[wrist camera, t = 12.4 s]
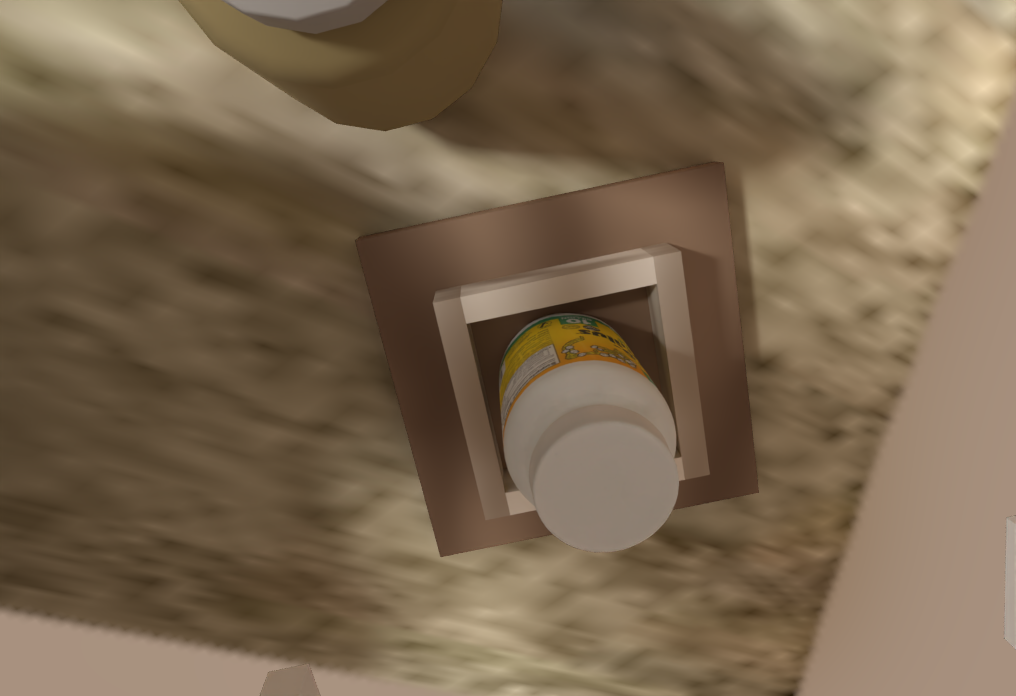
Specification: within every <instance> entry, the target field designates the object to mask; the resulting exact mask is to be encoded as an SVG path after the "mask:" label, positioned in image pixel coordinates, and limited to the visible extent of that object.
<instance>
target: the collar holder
mask: <svg viewBox="0 0 1016 696" xmlns="http://www.w3.org/2000/svg"><path fill="white" fill-rule="evenodd" d="M355 242H356V246H357V249H358V253H359V257H360V261H361V264H362V268H363V272H364V275H365V279H366V283H367V286H368V290H369V294H370V298H371V301H372V305H373V309H374V312H375V316H376V320H377V323H378V327H379V331H380V335H381V338H382V342H383V346H384V349H385V353H386V357H387V360H388V364H389V368H390V372H391V375H392V379H393V383H394V386H395V390H396V394H397V397H398V401H399V405H400V409H401V412H402V416H403V420H404V423H405V427H406V431H407V434H408V438H409V442H410V446H411V449H412V453H413V457H414V460H415V464H416V468H417V471H418V475H419V479H420V483H421V486H422V490H423V494H424V497H425V501H426V505H427V508H428V512H429V516H430V520H431V523H432V527H433V531H434V534H435V538H436V542H437V545H438V549H439V553H440V557H444V556H449V555H453V554H458V553H463V552H468V551H473V550H478V549H483V548H488V547H493V546H498V545H503V544H508V543H512V542H517V541H522V540H527V539H532V538H537V537H542V536H547V535H552V533H551V532H550V531H549V530H548V529H547V528H546V527H545V525H544V524H543V522H542V521H541V519H540V517H539V515H538V513H537V511H536V508H535V506H534V505H533V504H532V503H530V502H529V501H528V500H527V499H526V498H525V497H524V496H523V494H522V493H521V492H520V491H519V489H518V488H517V487H516V485H515V483H514V482H513V480H512V478H511V476H510V473H509V471H508V468H507V465H506V461H505V456H504V448H503V438H502V422H501V410H500V394H499V370H500V365H501V361H502V358H503V355H504V353H505V351H506V349H507V347H508V345H509V344H510V342H511V341H512V339H513V338H514V337H515V336H516V335H517V334H518V333H519V332H520V331H521V330H522V329H523V328H524V327H525V326H527V325H528V324H529V323H531V322H533V321H534V320H536V319H538V318H541V317H543V316H546V315H551V314H556V313H574V314H583V315H587V316H591V317H594V318H597V319H599V320H601V321H603V322H604V323H606V324H607V325H609V326H610V327H611V328H613V329H614V330H615V331H616V332H617V333H618V334H619V335H620V337H621V338H622V339H623V340H624V341H625V343H626V344H627V346H628V347H629V349H630V350H631V352H632V353H633V354H634V356H635V357H636V359H637V360H638V362H639V363H640V364H641V366H642V367H643V369H644V370H645V371H646V372H647V374H648V375H649V377H650V378H651V380H652V381H653V383H654V384H655V386H656V387H657V388H658V390H659V392H660V393H661V394H662V396H663V397H664V399H665V401H666V403H667V405H668V407H669V409H670V411H671V414H672V417H673V420H674V424H675V429H676V451H675V456H674V460H675V463H676V465H677V470H678V476H679V489H678V496H677V499H676V503H675V505H674V507H673V510H675V509H680V508H685V507H690V506H695V505H699V504H704V503H709V502H714V501H719V500H724V499H729V498H734V497H739V496H744V495H749V494H754V493H759V489H758V480H757V471H756V461H755V452H754V443H753V433H752V424H751V415H750V405H749V396H748V386H747V377H746V368H745V358H744V349H743V340H742V330H741V321H740V311H739V302H738V293H737V283H736V274H735V265H734V255H733V246H732V237H731V227H730V218H729V208H728V199H727V190H726V180H725V171H724V163H723V162H711V163H706V164H701V165H696V166H692V167H687V168H682V169H678V170H673V171H668V172H663V173H659V174H654V175H649V176H645V177H640V178H635V179H630V180H626V181H621V182H616V183H612V184H607V185H602V186H597V187H593V188H588V189H583V190H578V191H574V192H569V193H564V194H560V195H555V196H550V197H545V198H541V199H536V200H531V201H527V202H522V203H517V204H512V205H508V206H503V207H498V208H494V209H489V210H484V211H479V212H475V213H470V214H465V215H461V216H456V217H451V218H446V219H442V220H437V221H432V222H427V223H423V224H418V225H413V226H409V227H404V228H399V229H394V230H390V231H385V232H380V233H376V234H371V235H366V236H361V237H359V238H358V239H356V240H355Z"/></svg>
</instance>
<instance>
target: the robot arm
mask: <svg viewBox="0 0 1016 696" xmlns="http://www.w3.org/2000/svg"><path fill="white" fill-rule="evenodd" d="M1005 564H1006V565H1005V616H1004V617H1005V618H1004V639H1005V640H1006V641H1007V642H1009V643H1010V644H1011V645H1012V646H1013V647H1014V648H1015V649H1016V515H1015V516H1010V517H1007V518H1006V563H1005ZM260 696H320V694H319V691H318V688H317V685H316V682H315V679H314V677H313V674H312V671H311V668H310V666H309V664H305V665H300V666H295V667H290V668H285V669H281V670H276V671H271V672H268V674H267V677H266V680H265V683H264V685H263V688H262V691H261V694H260Z"/></svg>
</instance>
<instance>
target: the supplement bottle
mask: <svg viewBox="0 0 1016 696" xmlns="http://www.w3.org/2000/svg"><path fill="white" fill-rule="evenodd" d="M499 394H500V410H501V422H502V438H503V448H504V456H505V461H506V465H507V468H508V471H509V473H510V476H511V478H512V480H513V482H514V483H515V485H516V487H517V488H518V489H519V491H520V492H521V493H522V494H523V496H524V497H525V498H526V499H527V500H528V501H529V502H530V503H532V504H533V505H534V506H535V508H536V511H537V513H538V515H539V517H540V519H541V521H542V522H543V524H544V525H545V527H546V528H547V529H548V530H549V531H550V532H551V533H552V534H553V535H554V536H555V537H557V538H558V539H560V540H561V541H562V542H564V543H566V544H568V545H570V546H572V547H574V548H577V549H581V550H585V551H590V552H614V551H620V550H623V549H626V548H630V547H632V546H634V545H637V544H639V543H641V542H642V541H644V540H646V539H647V538H649V537H650V536H652V535H653V534H654V533H655V532H656V531H657V530H658V529H659V528H660V527H661V526H662V525H663V524H664V523H665V521H666V520H667V519H668V517H669V515H670V513H671V512H672V510H673V507H674V505H675V503H676V499H677V496H678V489H679V476H678V470H677V465H676V463H675V460H674V456H675V451H676V429H675V424H674V420H673V417H672V414H671V411H670V409H669V407H668V405H667V403H666V401H665V399H664V397H663V396H662V394H661V393H660V392H659V390H658V388H657V387H656V386H655V384H654V383H653V381H652V380H651V378H650V377H649V375H648V374H647V372H646V371H645V370H644V369H643V367H642V366H641V364H640V363H639V362H638V360H637V359H636V357H635V356H634V354H633V353H632V352H631V350H630V349H629V347H628V346H627V344H626V343H625V341H624V340H623V339H622V338H621V337H620V335H619V334H618V333H617V332H616V331H615V330H614V329H613V328H611V327H610V326H609V325H607V324H606V323H604V322H603V321H601V320H599V319H597V318H594V317H591V316H587V315H583V314H574V313H556V314H551V315H546V316H543V317H541V318H538V319H536V320H534V321H533V322H531V323H529V324H528V325H527V326H525V327H524V328H523V329H522V330H521V331H520V332H519V333H518V334H517V335H516V336H515V337H514V338H513V339H512V341H511V342H510V344H509V345H508V347H507V349H506V351H505V353H504V355H503V358H502V361H501V365H500V370H499Z"/></svg>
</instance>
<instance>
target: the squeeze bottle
mask: <svg viewBox="0 0 1016 696" xmlns="http://www.w3.org/2000/svg"><path fill="white" fill-rule="evenodd" d="M179 1H180V3H181V4H182V5H183V6H184V8H185V9H186V10H187V11H188V13H189V14H190V15H191V16H192V18H193V19H194V20H195V21H196V23H197V24H198V25H199V26H200V28H201V29H202V30H203V31H204V33H205V34H206V35H207V36H208V38H209V39H210V40H211V41H212V43H213V44H214V45H215V46H217V47H218V48H220V49H221V50H223V51H224V52H226V53H227V54H229V55H230V56H232V57H233V58H234V59H236V60H237V61H239V62H240V63H242V64H243V65H245V66H246V67H248V68H249V69H251V70H252V71H254V72H255V73H257V74H258V75H260V76H261V77H263V78H264V79H266V80H267V81H269V82H270V83H272V84H273V85H275V86H276V87H278V88H279V89H281V90H282V91H284V92H285V93H287V94H288V95H290V96H291V97H293V98H294V99H296V100H298V101H299V102H301V103H303V104H304V105H306V106H308V107H309V108H311V109H313V110H314V111H316V112H318V113H319V114H321V115H323V116H324V117H326V118H328V119H329V120H331V121H333V122H334V123H336V124H342V125H349V126H355V127H361V128H368V129H374V130H381V131H388V130H392V129H396V128H400V127H403V126H407V125H411V124H415V123H419V122H423V121H426V120H430V119H433V118H434V117H436V116H437V115H438V114H439V113H441V112H442V111H443V110H444V109H446V108H447V107H448V106H449V105H451V104H452V103H453V102H455V101H456V100H457V99H458V98H460V97H461V96H462V95H463V94H465V93H466V92H467V91H468V90H470V89H471V88H472V86H473V85H474V83H475V81H476V79H477V77H478V76H479V74H480V72H481V70H482V68H483V67H484V65H485V63H486V61H487V59H488V57H489V56H490V54H491V52H492V50H493V48H494V47H495V45H496V43H497V38H498V31H499V23H500V16H501V9H502V1H503V0H179Z"/></svg>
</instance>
